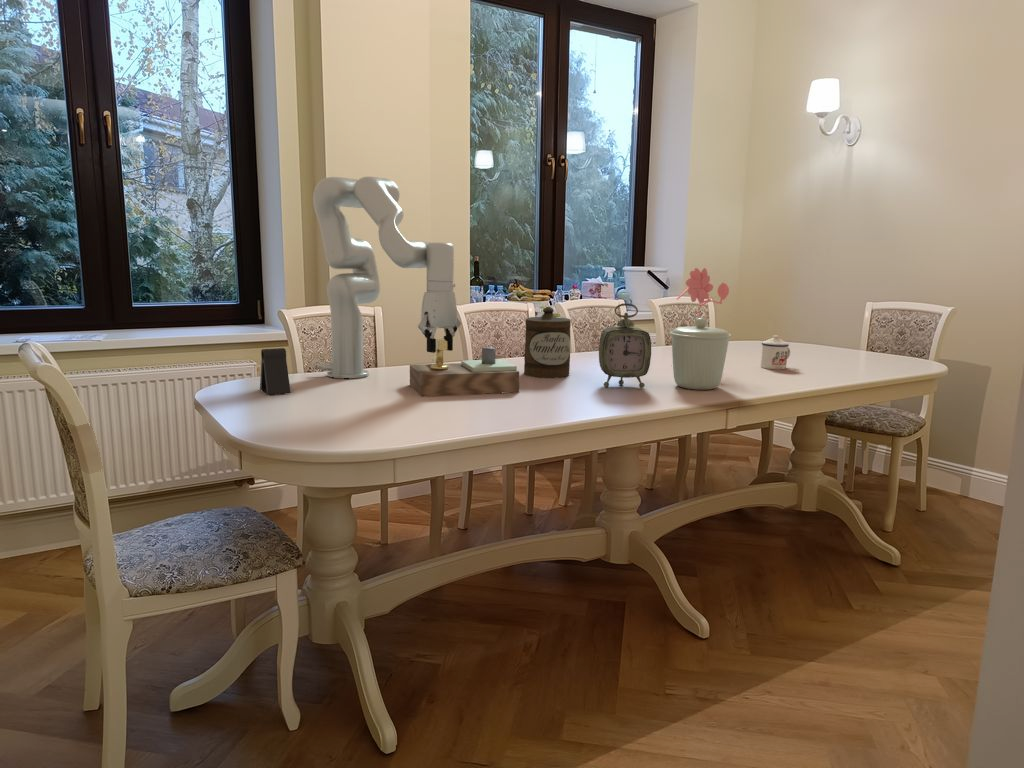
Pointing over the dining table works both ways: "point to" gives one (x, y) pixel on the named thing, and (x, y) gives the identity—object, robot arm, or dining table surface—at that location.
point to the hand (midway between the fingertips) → (439, 350)
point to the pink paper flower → (703, 288)
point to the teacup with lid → (774, 353)
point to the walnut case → (461, 380)
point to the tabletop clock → (625, 350)
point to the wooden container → (547, 345)
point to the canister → (699, 355)
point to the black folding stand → (274, 372)
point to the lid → (488, 362)
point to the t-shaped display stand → (439, 354)
